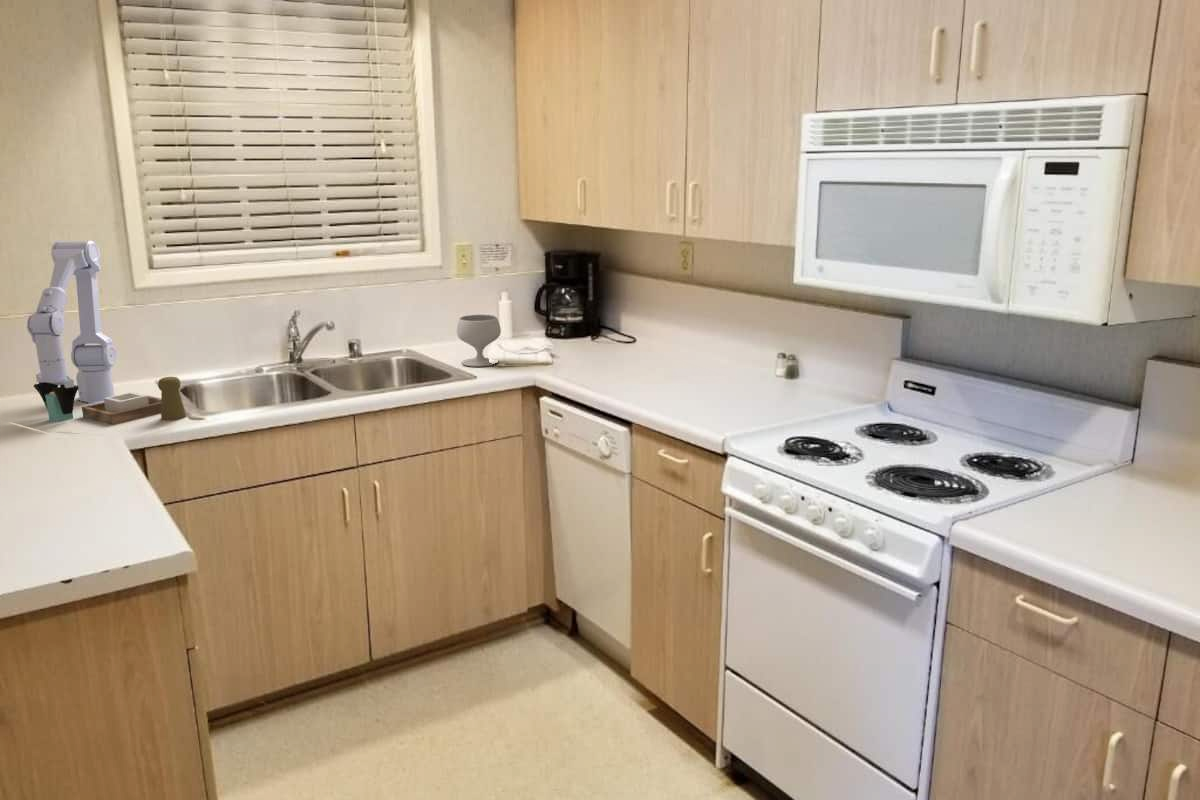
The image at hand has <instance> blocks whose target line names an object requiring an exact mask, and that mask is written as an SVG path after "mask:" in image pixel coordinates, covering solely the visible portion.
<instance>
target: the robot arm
mask: <svg viewBox="0 0 1200 800" xmlns="http://www.w3.org/2000/svg"><path fill="white" fill-rule="evenodd" d="M50 255H51V258H52V261H53V263H54V266H53V270H52V274H51V277H50V278H51V280H50V284H49V287H46V288H44V289H43V290H42V292H41V296H40V299H39V302H38V304H37V308H36V311H35V312H34V313H32V314H31V315H29V317H28V318H27V323H26V324H27V326H26V329H27V331H28V333H29V335H30V336H31V341H32V342H33V343H34V344H35V349H36V355H37V360H38V367H39V373H35V378H36V382H37V383H35V384H33V388H34V389H35V390H36V391H37V392H38V394H39V395H40V397H41V399H42V402H43V403H44V406H45V409H46V410H47V411H48V409H47V403H46V397H45V395H48V394H50V392H54V393H55V395H56V396H57V398H58V400H59V403H60V407H61V410H62V412H63V414H69V413H73V412H74V406H75V405H74V404H75V400H77V401H79V400H80V401H79V402H83V401H84V403H87V402H88V404H92V405H94V404H98V403H102V402H104V398H107V397H111V396H116V395H117V394H115V390H114V383H113V375H112V368H113V367H114V365H115V363H116V362H117V361H116V360H117V353H116V350H115V346H114V342H113V339H111V338H110V337H109V336H107V335H105V334H104V333H103V332H102V325H101V311H100V299H99V297H100V296H99V285H98V272H100V271H101V269H102V268H101V256H100V249H99V247H98V246H97V244H96V243H95V242H94V241H93V240H77V241H76V240H73V241H72V240H71V241H68V240H67V241H65V240H64V241H61V240H56V241H54V243H53V244H52V246H51V253H50ZM73 276H74V277H75V281H76V292H77V303H78V304H77V305H78V320H79V330H80V334H79V335H78V336H77V337H76V338H74V339H73V340H72V342H71V343H72V345H71V346H72V348H71V352H70V358H71V362H72V364H73V366H74V367H75V368H77V370H78V371H77V373H76V376H75V378H76V379H75V380H76V384H75V381H74V379H73V378H71V377H70V376H69V374H68V372H67V366H66V361H65V360H66V359H65V354H64V349H63V348H64V347H63V342H62V336H61V335H62V334H63V332H64V330H65V329H64V328H65V321H64V320H65V315H64V311H65V308H66V305H67V302H68V298H69V296H68V294H67V293H66V291H67V288H68V285H69V284H70V282H71V279H72V277H73ZM88 344H89V345H88ZM92 344H93V345H92ZM77 392H78V397H77V398H76V396H77V395H76V394H77Z"/></svg>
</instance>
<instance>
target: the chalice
mask: <svg viewBox="0 0 1200 800" xmlns="http://www.w3.org/2000/svg"><path fill="white" fill-rule="evenodd" d="M501 333H502V329H501V324H500V321H499V319H498V318H497V316H495V315H491V314H470V315H464V316H461V317H459V320H458V321H457V326H456V334H457V337H458V338H459V340H461V342H464V343H465V344H468V345H469V346H471V347H473V348H474V349H475V350H476V357H473V358H468V359H465V360H462V361H461V365H462V366H466V367H473V368H475V367H489V366H494V365H493V364H492V363H490V362H489V359H488V358H489V357H485V356H484V354H483V353H484V350H485V349H486V347H487V346H489V345H490V344H492V343H493V342H495V341H496V340H497V339H499V338H500V336H501Z"/></svg>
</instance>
